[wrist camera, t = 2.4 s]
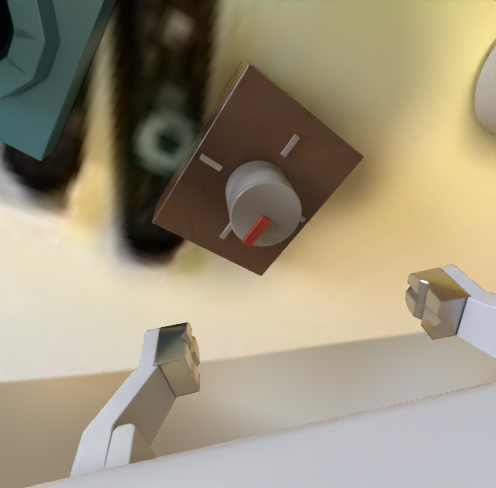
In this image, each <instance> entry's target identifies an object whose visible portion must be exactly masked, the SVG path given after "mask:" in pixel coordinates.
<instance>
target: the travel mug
mask: <svg viewBox="0 0 496 488" xmlns="http://www.w3.org/2000/svg"><path fill="white" fill-rule="evenodd" d="M475 111H476V115H477V118H478V120H479V122H480V124H481V125H482V126H483V127H484V128H485V129H486V130H487V131H489V132H490V133H492V134H495V135H496V46H495V47H494V49H493V50H492V52H491V53H490V55H489V57H488V58H487V60H486V62H485V64H484V66H483V68H482V71H481V73H480V76H479V79H478V82H477V87H476V92H475Z"/></svg>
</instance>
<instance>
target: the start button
mask: <svg viewBox="0 0 496 488" xmlns="http://www.w3.org/2000/svg"><path fill="white" fill-rule="evenodd" d="M7 36H8V18H7V13H6V10H5V7H4V4H3V1H2V0H0V51H1V50H2V48H3V47H4V45H5V43H6V40H7Z"/></svg>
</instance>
